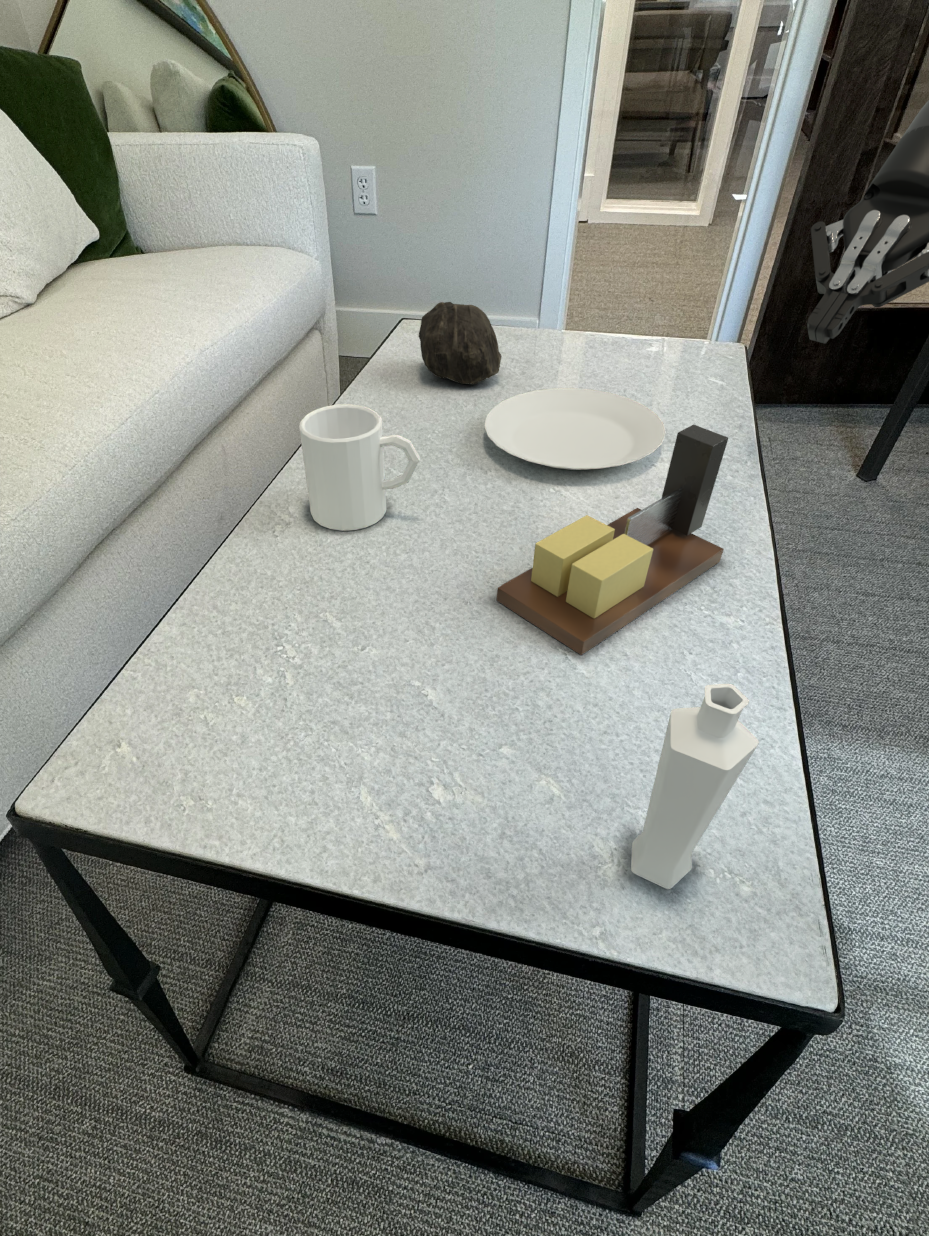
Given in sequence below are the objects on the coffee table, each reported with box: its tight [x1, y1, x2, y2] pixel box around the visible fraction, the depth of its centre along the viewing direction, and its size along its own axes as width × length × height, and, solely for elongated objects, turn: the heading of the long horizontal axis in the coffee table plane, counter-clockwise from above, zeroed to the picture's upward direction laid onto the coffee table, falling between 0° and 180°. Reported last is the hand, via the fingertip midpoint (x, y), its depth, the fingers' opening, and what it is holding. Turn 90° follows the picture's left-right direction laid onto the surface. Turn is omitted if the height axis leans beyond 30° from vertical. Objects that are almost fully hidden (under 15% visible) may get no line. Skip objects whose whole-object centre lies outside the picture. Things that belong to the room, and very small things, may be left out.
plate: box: [483, 387, 667, 471], centre depth 86 cm, size 21×21×2 cm
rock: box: [418, 301, 502, 385], centre depth 99 cm, size 10×11×10 cm
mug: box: [298, 403, 421, 532], centre depth 74 cm, size 8×12×10 cm
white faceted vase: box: [630, 683, 760, 890], centre depth 41 cm, size 5×4×15 cm
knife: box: [624, 424, 729, 545], centre depth 66 cm, size 10×4×9 cm, turn 130°
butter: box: [531, 514, 653, 619], centre depth 64 cm, size 7×7×4 cm
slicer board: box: [496, 507, 725, 656], centre depth 67 cm, size 20×10×2 cm, turn 130°
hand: (816, 336), depth 68 cm, fingers closed
